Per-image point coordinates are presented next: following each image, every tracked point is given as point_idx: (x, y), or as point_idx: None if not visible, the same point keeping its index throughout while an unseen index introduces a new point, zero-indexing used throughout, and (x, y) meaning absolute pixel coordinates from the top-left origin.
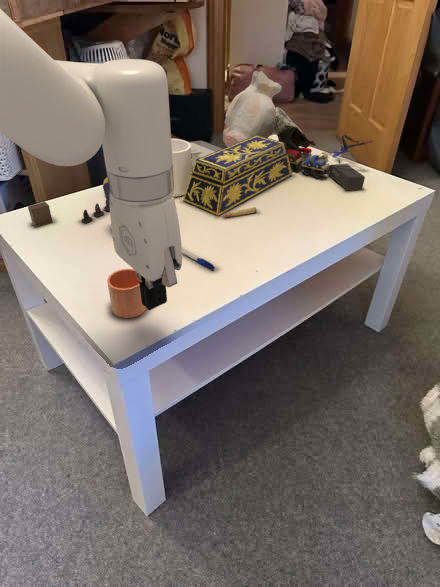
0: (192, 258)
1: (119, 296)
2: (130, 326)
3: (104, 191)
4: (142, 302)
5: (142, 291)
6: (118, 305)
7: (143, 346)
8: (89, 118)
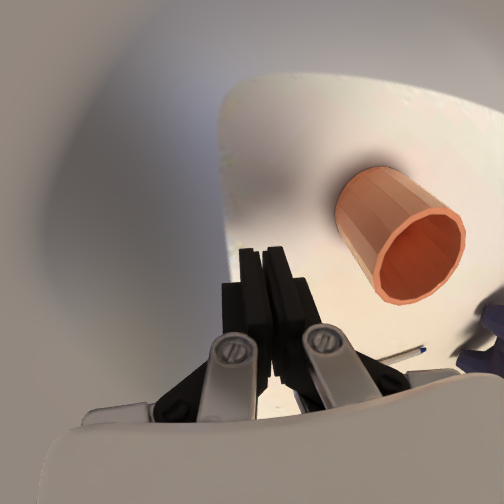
0: (382, 361)
1: (392, 205)
2: (315, 172)
3: None
4: (277, 252)
5: (280, 292)
6: (381, 186)
7: (221, 162)
8: None
